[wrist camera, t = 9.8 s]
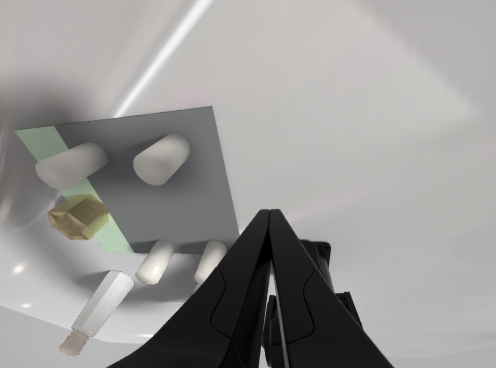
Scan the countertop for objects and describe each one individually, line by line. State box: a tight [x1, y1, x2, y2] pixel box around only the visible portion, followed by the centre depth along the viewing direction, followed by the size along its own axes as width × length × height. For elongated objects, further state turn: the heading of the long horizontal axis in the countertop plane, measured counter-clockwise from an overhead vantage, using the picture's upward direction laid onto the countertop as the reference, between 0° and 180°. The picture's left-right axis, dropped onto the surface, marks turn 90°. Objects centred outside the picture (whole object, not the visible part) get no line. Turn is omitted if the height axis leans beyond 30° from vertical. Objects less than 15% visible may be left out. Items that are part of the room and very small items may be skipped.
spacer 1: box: [35, 142, 109, 190], centre depth 20 cm, size 3×3×5 cm
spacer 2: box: [133, 133, 191, 185], centre depth 18 cm, size 3×3×5 cm
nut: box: [48, 194, 109, 240], centre depth 25 cm, size 5×5×4 cm
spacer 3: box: [135, 239, 175, 285], centre depth 27 cm, size 3×3×5 cm
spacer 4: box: [194, 240, 227, 285], centre depth 26 cm, size 3×3×5 cm
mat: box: [15, 106, 240, 254], centre depth 25 cm, size 20×23×1 cm
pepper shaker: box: [59, 271, 135, 356], centre depth 32 cm, size 5×5×11 cm
